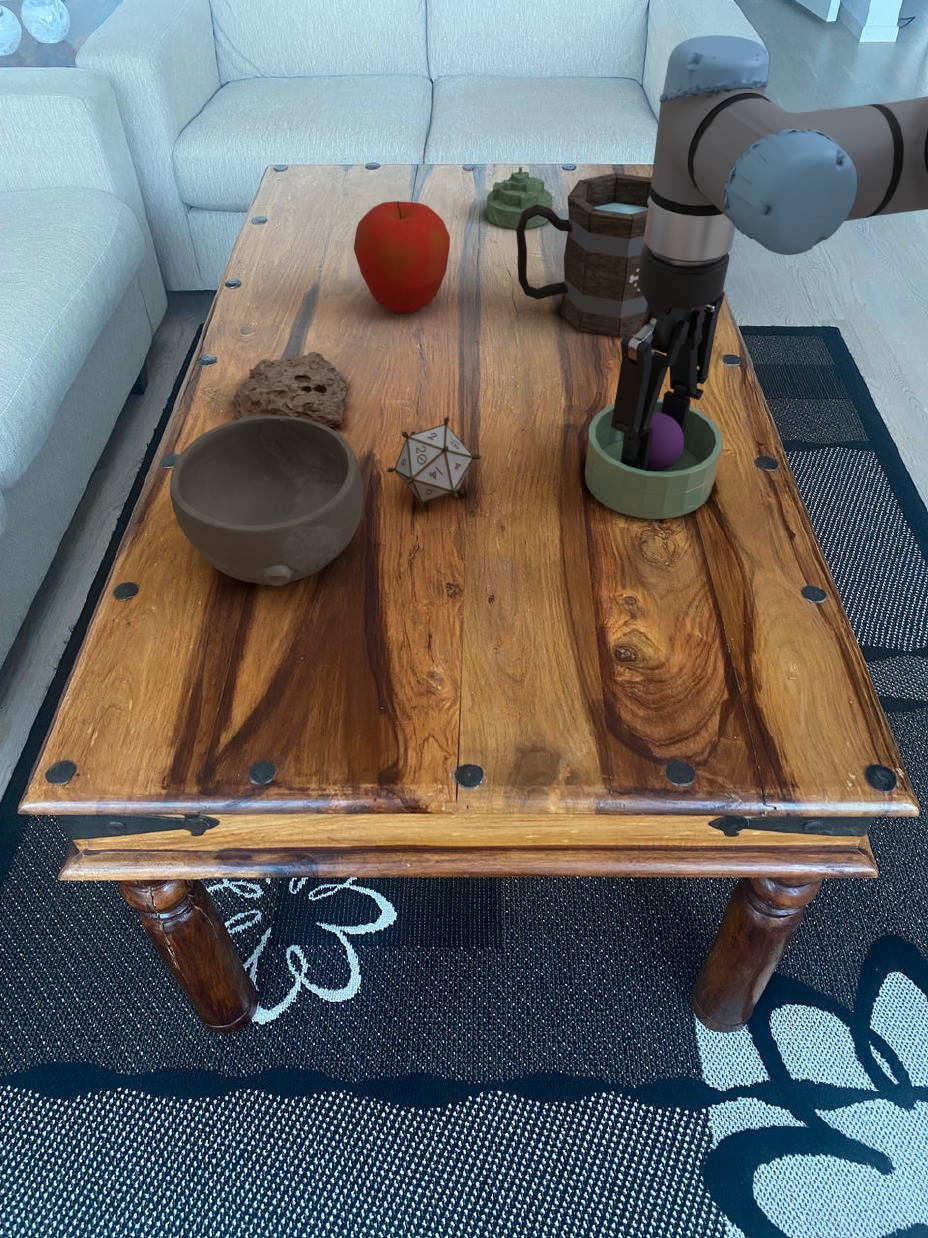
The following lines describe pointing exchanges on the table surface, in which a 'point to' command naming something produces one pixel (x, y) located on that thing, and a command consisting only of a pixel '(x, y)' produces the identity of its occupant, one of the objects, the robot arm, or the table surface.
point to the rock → (294, 390)
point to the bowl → (268, 497)
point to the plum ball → (664, 442)
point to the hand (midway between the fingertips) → (650, 463)
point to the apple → (402, 254)
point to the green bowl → (646, 489)
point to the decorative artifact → (517, 200)
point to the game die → (433, 463)
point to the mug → (597, 254)
